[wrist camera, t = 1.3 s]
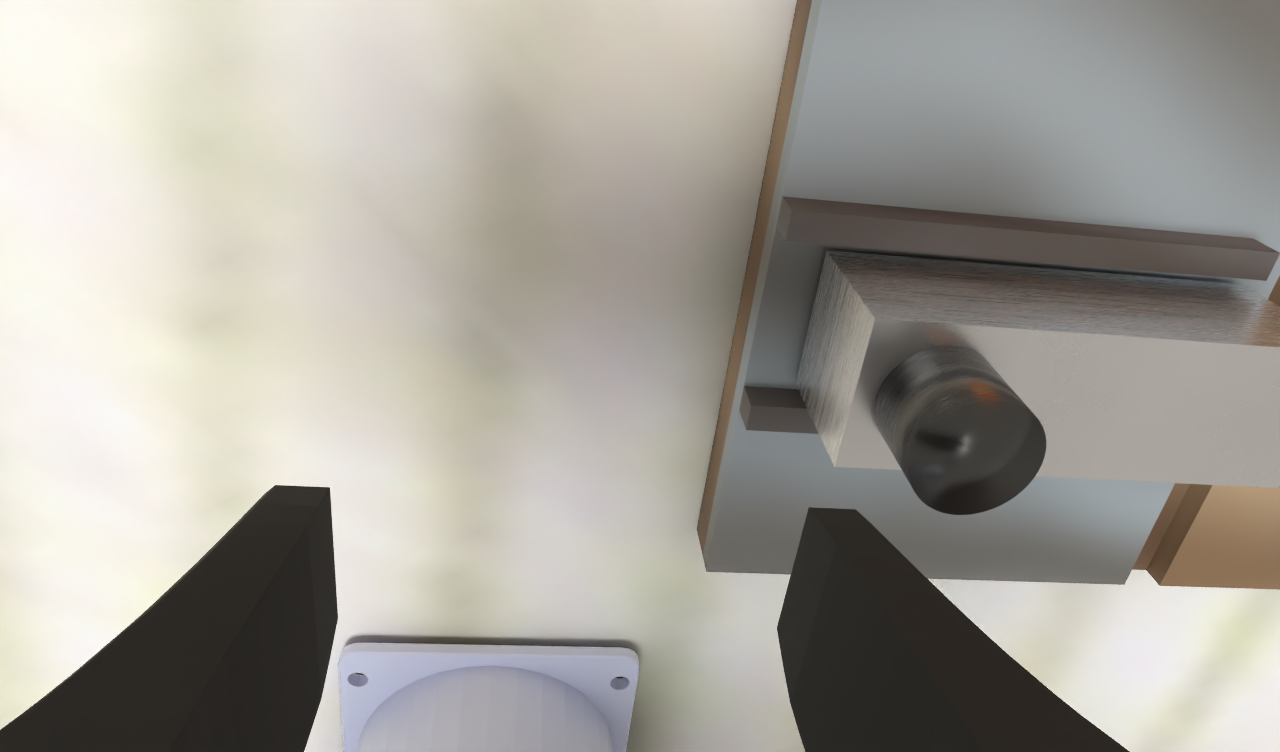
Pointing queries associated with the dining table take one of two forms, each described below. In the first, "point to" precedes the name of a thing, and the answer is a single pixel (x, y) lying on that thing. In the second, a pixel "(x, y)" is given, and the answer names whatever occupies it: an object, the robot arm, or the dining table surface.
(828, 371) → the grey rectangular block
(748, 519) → the slide bolt latch board
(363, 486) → the dining table surface
